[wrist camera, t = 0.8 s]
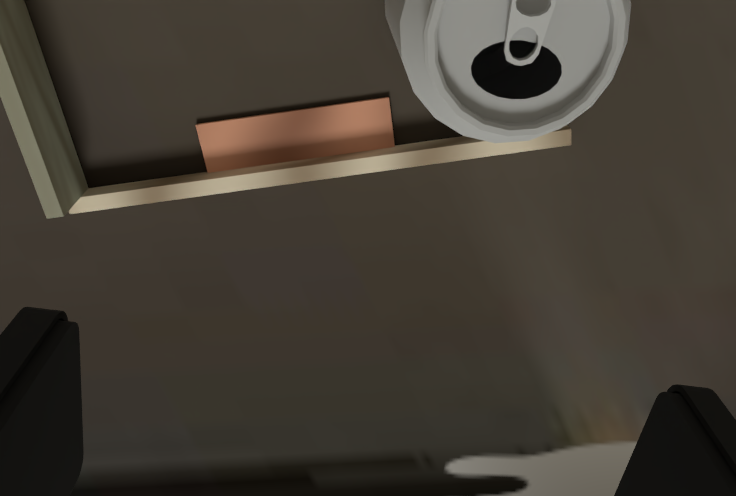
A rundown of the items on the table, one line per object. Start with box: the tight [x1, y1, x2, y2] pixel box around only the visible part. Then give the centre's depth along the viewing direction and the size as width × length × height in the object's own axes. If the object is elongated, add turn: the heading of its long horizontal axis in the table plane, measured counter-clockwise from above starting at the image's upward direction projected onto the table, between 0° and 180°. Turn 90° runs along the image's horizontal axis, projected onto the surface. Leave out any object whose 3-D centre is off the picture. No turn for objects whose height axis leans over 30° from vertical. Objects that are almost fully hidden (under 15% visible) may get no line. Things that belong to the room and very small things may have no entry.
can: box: [385, 0, 631, 143], centre depth 26 cm, size 8×8×12 cm
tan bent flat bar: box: [0, 0, 571, 219], centre depth 30 cm, size 25×15×4 cm, turn 98°
